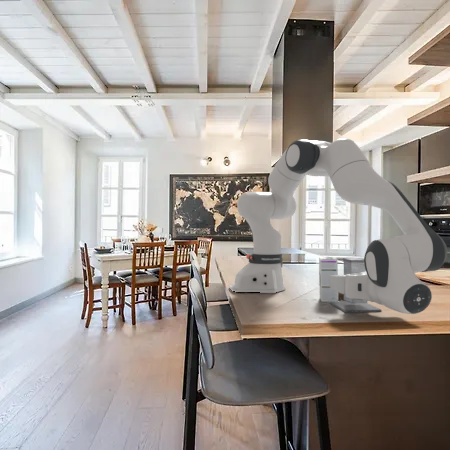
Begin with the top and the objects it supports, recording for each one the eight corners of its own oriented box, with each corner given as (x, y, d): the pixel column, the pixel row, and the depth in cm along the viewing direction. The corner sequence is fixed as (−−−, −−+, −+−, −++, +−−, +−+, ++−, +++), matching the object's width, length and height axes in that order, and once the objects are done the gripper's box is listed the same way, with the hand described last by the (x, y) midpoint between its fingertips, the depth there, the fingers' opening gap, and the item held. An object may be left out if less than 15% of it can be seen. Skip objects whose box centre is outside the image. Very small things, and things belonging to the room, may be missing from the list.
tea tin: (351, 303, 97) (351, 260, 97) (343, 299, 102) (343, 258, 102) (367, 303, 97) (367, 259, 98) (359, 299, 103) (358, 258, 103)
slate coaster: (345, 312, 94) (345, 310, 94) (329, 303, 105) (329, 301, 105) (381, 311, 95) (381, 309, 95) (361, 302, 106) (361, 300, 106)
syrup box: (338, 302, 107) (338, 258, 107) (320, 302, 108) (320, 258, 108) (336, 298, 112) (336, 257, 112) (318, 298, 113) (318, 256, 113)
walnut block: (342, 300, 110) (342, 288, 110) (333, 297, 115) (333, 286, 115) (354, 299, 112) (354, 287, 112) (345, 296, 117) (345, 285, 117)
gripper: (413, 273, 89) (384, 267, 102) (342, 275, 86) (321, 268, 100) (414, 296, 89) (384, 287, 102) (342, 298, 86) (321, 288, 100)
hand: (352, 277), depth 101 cm, fingers closed on tea tin, 5 cm apart
